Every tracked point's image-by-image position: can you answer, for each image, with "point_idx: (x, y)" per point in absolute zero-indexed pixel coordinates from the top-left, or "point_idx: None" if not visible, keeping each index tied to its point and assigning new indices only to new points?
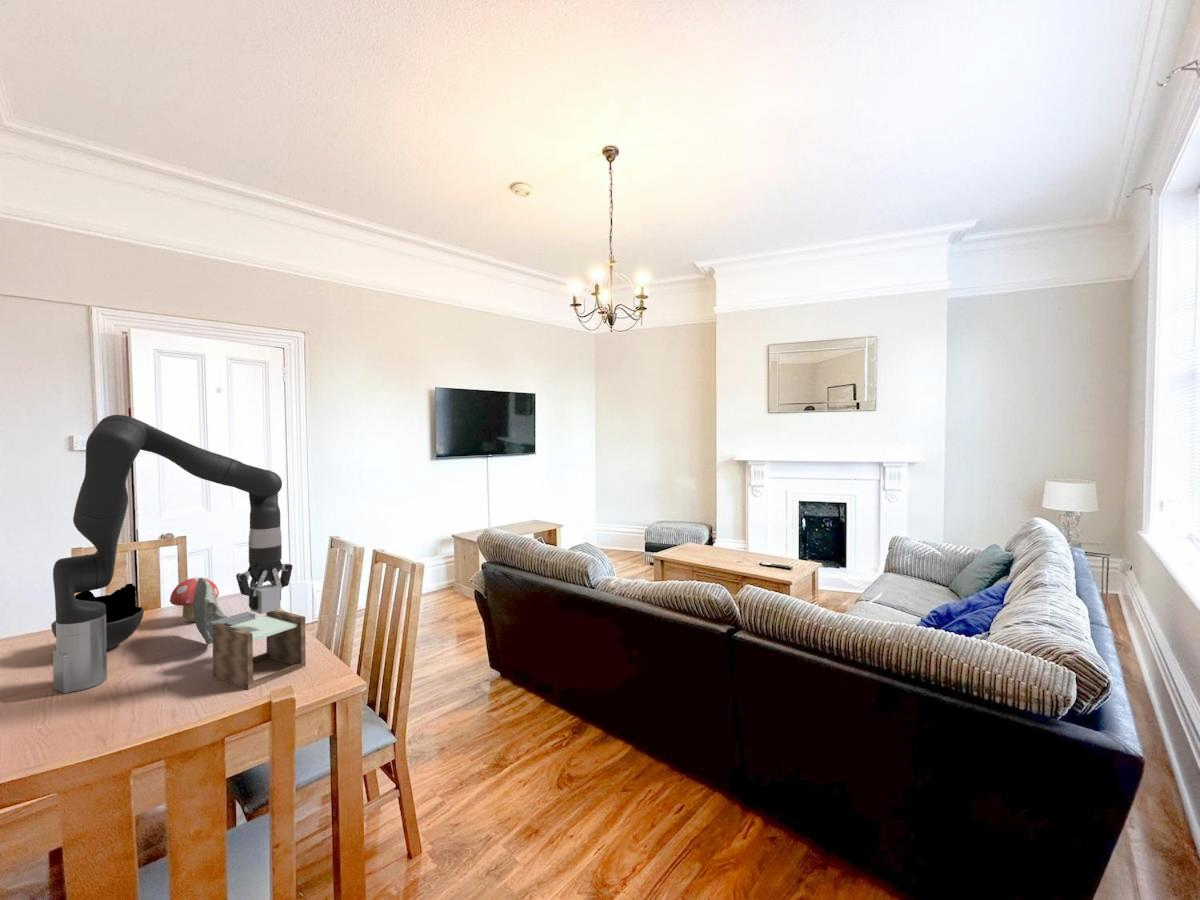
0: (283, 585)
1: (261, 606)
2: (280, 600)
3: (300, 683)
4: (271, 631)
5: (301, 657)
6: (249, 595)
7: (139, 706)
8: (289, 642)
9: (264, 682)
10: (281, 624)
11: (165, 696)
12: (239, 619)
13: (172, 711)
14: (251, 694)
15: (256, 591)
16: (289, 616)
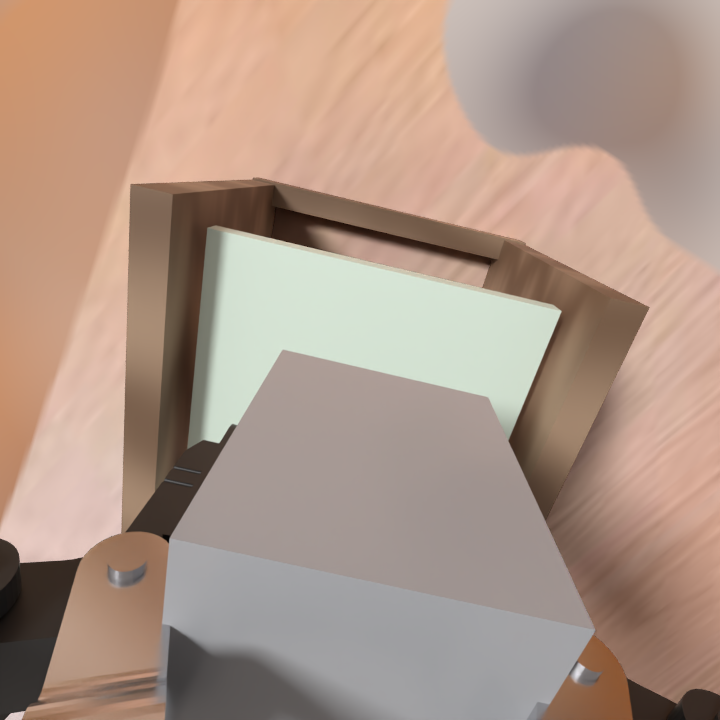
0: (24, 590)
1: (507, 445)
2: (200, 442)
3: (417, 37)
4: (405, 291)
5: (265, 185)
6: (643, 691)
7: (678, 492)
8: None
9: (453, 224)
10: (265, 336)
11: (605, 478)
12: None
13: (713, 365)
14: (557, 187)
15: (580, 705)
16: (167, 355)
